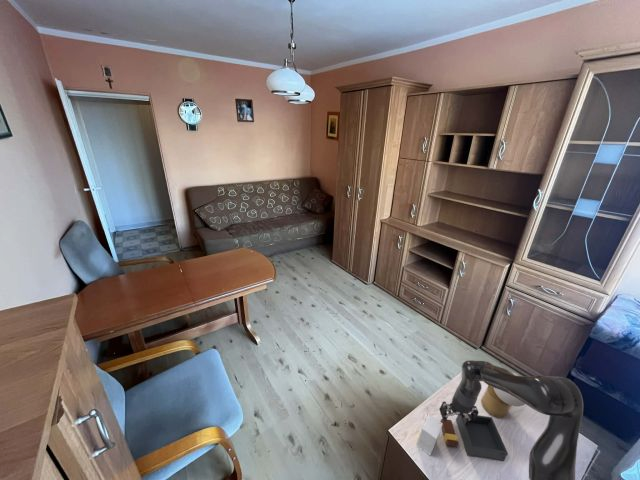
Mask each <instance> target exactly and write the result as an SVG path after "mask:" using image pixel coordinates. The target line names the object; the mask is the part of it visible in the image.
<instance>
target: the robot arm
mask: <svg viewBox="0 0 640 480" xmlns="http://www.w3.org/2000/svg"><path fill="white" fill-rule="evenodd" d="M512 372H513V371H510V370H508V369H507V368H504V367H500V366H497V365H494V364H493V363H491V362H490V361H485V360H465V361H464V362H463V363H462V365H461V379H460V382H459V384H458V386H457V387H456V389H455V392H454V394H453V396H452V399H451V402H450V403H447V402H446V401H445V400H444V401H442V403H441V405H440V407H439V412H440V413H439V414H440V415H441V419H443V421H444V422H446V420H448V418H449V417H453V416H458V415H461V416H463V415H464V418H463V423H464V425H466V424H468V422H469V421H470V420H471V419H473V420H476V418H477V416H478V415H479V413H480V412H479V410H478V407H477V406H476V404H477V401H478V397H479V395H480V393H481V390H482V383H481V382H483V383H484V384H485V385H487V386H488V385H489V386H491V387H494V388H496V389H499V390H502V391H504V392H506V393H508V394H510V395H512V396H514V397H515V398H517V399H519V400H520V401H522V402H523V403H525V406H528V407H529V408H531V409H533V410H534V411H536V412H538V413H539V414H541V415H545V416H548V422H547V425H546V426H545V428H544V430H543V431H542V433H541V434H540V435H539V436H538V438H537V440H536V441H535V442H534V443H533V445H532V447H531V449H530V452H529V457H528V480H576V466H577V465H576V464H577V454H578V453H577V451H578V441H579V436H580V429H581V427H582V426H581V425H582V421H583V420H582V419H583V416H584V400H583V395H582V392H581V390H580V389H579V387H578V385H576V383H575V382H573V381H572V380H571V379H570V378H568V377H564V376H555V375H534V376H533V375H532V376H531V375H530V376H527V375H526V376H525V375H519V376H516V375H514V374H513V373H514V372H513V373H512Z"/></svg>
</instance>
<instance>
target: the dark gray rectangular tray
mask: <svg viewBox="0 0 640 480" xmlns="http://www.w3.org/2000/svg"><path fill="white" fill-rule="evenodd" d="M463 418H464V415H463V416H461V415H456V418H455V422H456V426H457V429H458V432H459V435H460V438H461V440H462V441H461V442H462V444H463V447H464V450H465V453H466V456H468V457H473V458H479V459H486V460H492V461H496V462H497V461H498V462H504V461H505V460H506V458H507V456H508V455H509V452H508V450H507V448H506V446H505V443H504V441H503V439H502V437H501V435H500V432H499V430H498V428H497V425H496V423H495V421H494V419H493V416H486V415H479V414H478V416H477V418H476V420H473V419H471V420H470V421H469V422H468V424H466V425H464V423H463Z"/></svg>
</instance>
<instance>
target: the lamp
mask: <svg viewBox="0 0 640 480" xmlns="http://www.w3.org/2000/svg"><path fill="white" fill-rule="evenodd" d="M511 372H512V373H513V374H514V375H516V376H520V375H519V374H518V373H516V372H513V371H511ZM480 403H481V406H482V408H483V409H484V411H486V412H487V413H488V414H489V415H490V416H491V417H494V418H496V419H505V418H506V417H507V415H508V414H509V412H510V411H511V409H512V408H513V407H522V406H526V404H525V403H523V402H522V401H520V400H519V399H517V398H515V397H514V396H512V395H510V394H508V393H506V392H504V391H502V390H499V389H496V388H494V387H491V386H489V385H487V387H486V389H485V391H484V393H483V395H482V396H481V400H480Z"/></svg>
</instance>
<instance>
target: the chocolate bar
mask: <svg viewBox="0 0 640 480" xmlns="http://www.w3.org/2000/svg"><path fill="white" fill-rule="evenodd" d="M439 421H440V422H441V423H443V425H442V427H441V432H442V436H443V440H444V443H445V447H447V448H448V447H449V448H454V449H458V447H459V440H458V436H457V433H456V430H455V428H454V424H453V421H452V420H451V419H447V420H446V422H444V421H443V419H442V418H441V419H440V420H439Z"/></svg>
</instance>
